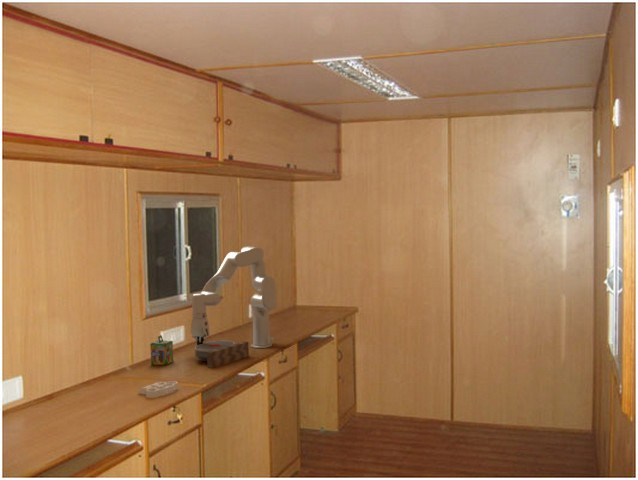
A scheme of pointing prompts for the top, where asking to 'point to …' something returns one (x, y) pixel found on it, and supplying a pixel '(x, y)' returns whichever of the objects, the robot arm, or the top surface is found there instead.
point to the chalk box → (161, 352)
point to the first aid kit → (210, 348)
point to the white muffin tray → (159, 389)
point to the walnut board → (227, 354)
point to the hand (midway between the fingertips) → (200, 348)
